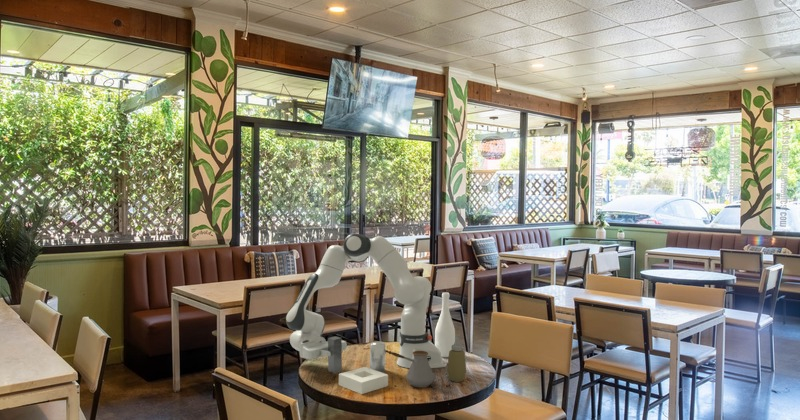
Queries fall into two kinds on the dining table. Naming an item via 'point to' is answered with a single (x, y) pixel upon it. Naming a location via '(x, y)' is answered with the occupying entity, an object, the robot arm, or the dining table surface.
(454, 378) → the squeeze bottle
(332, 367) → the square bit
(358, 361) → the dining table surface
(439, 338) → the wine bottle
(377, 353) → the round bit
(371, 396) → the dining table surface
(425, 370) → the coffee pot
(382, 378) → the socket block
